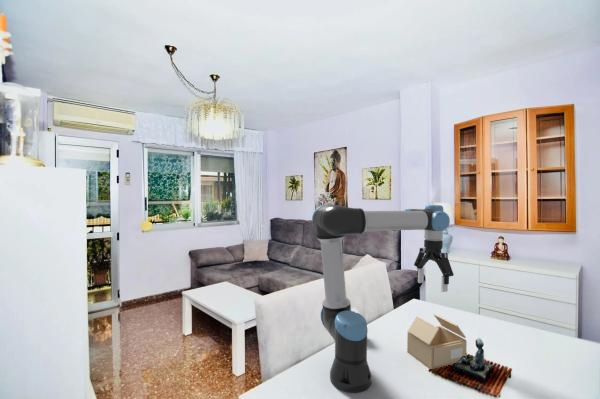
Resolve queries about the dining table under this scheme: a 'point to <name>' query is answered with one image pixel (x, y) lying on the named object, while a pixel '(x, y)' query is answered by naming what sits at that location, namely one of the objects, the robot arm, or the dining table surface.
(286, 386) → the dining table surface
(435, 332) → the near flap
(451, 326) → the far flap
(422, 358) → the carton
